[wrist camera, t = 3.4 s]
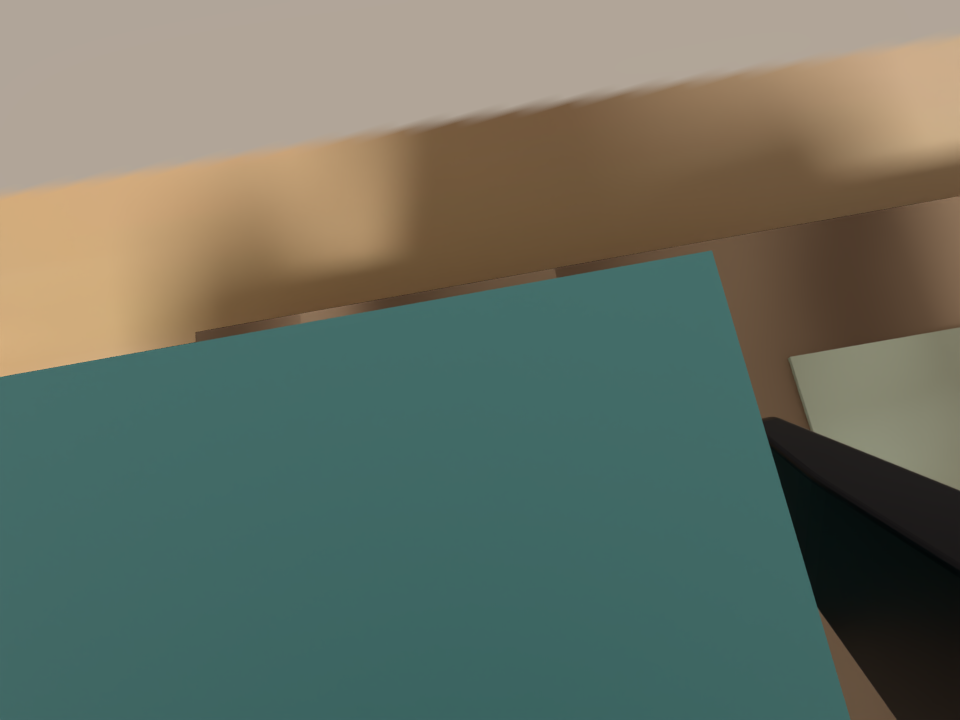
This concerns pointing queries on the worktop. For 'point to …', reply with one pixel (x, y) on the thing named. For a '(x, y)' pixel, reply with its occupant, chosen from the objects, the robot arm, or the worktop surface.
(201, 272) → the worktop surface
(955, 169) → the worktop surface
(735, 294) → the puzzle board
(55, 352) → the worktop surface
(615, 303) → the teal block
